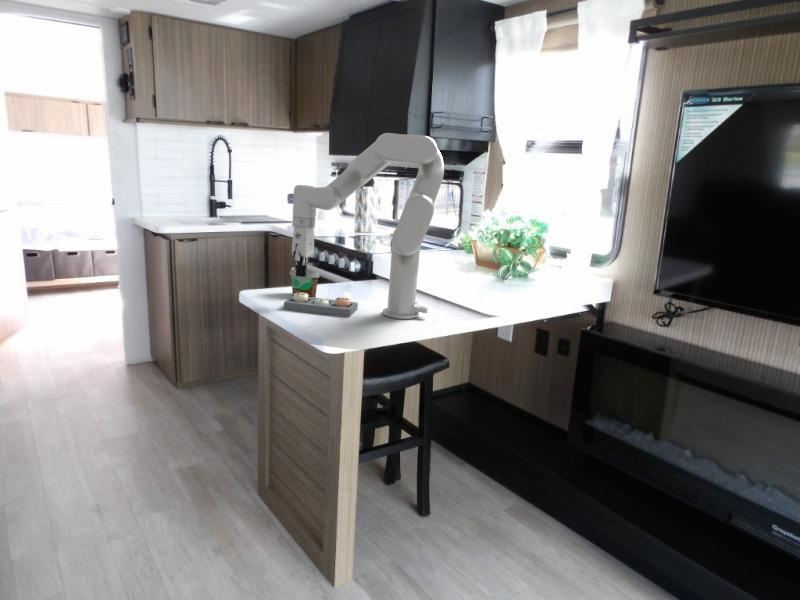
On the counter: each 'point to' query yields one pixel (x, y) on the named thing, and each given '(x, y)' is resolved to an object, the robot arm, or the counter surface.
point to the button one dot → (321, 301)
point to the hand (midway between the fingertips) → (301, 276)
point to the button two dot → (300, 297)
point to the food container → (304, 283)
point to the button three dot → (342, 302)
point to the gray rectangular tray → (320, 307)
